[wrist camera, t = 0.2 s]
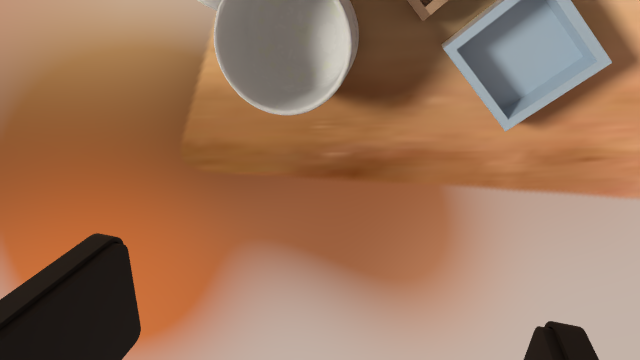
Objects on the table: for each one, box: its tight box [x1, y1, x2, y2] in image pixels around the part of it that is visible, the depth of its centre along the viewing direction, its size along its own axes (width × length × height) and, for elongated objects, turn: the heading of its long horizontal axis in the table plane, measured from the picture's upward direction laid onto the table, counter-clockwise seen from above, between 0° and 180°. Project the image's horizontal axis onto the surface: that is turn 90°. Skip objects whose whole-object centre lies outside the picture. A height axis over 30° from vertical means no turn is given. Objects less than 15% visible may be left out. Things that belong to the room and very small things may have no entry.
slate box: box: [441, 0, 612, 131], centre depth 32 cm, size 8×8×4 cm
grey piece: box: [198, 0, 359, 115], centre depth 33 cm, size 14×11×8 cm
